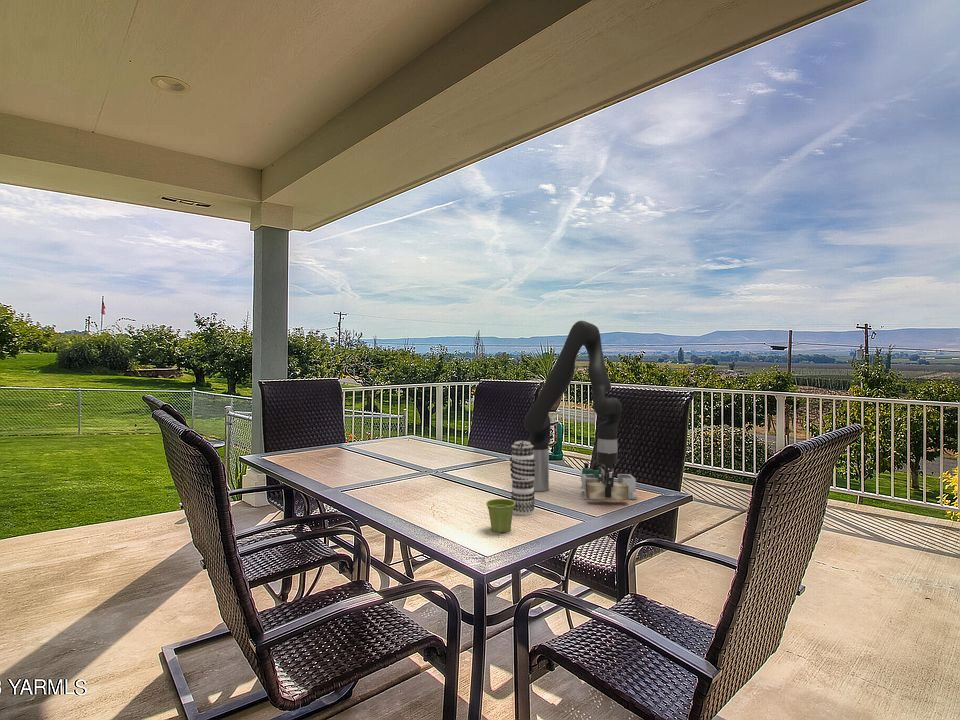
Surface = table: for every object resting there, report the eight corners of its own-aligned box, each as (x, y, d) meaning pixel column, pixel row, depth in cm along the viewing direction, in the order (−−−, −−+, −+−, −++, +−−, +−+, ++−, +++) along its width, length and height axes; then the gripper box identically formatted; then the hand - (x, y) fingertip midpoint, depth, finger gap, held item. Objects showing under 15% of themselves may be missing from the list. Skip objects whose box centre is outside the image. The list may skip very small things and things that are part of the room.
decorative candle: (517, 516, 172) (516, 444, 172) (505, 509, 180) (505, 440, 180) (540, 513, 175) (539, 442, 175) (528, 506, 184) (527, 439, 184)
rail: (587, 498, 185) (587, 485, 185) (585, 495, 190) (585, 482, 190) (628, 499, 185) (628, 486, 185) (625, 496, 189) (625, 483, 189)
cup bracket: (584, 499, 193) (584, 478, 193) (581, 493, 201) (581, 474, 201) (636, 499, 192) (636, 478, 192) (630, 493, 201) (630, 474, 201)
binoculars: (609, 464, 212) (596, 465, 205) (608, 489, 211) (594, 491, 204) (592, 461, 219) (578, 462, 212) (590, 485, 218) (577, 487, 211)
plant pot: (503, 537, 151) (503, 508, 151) (480, 530, 157) (480, 503, 157) (521, 529, 158) (521, 502, 158) (498, 523, 164) (498, 497, 165)
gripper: (593, 447, 195) (593, 490, 195) (600, 453, 180) (600, 500, 180) (613, 447, 194) (612, 490, 194) (621, 454, 180) (621, 501, 180)
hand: (606, 495), depth 187 cm, fingers closed on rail, 4 cm apart
